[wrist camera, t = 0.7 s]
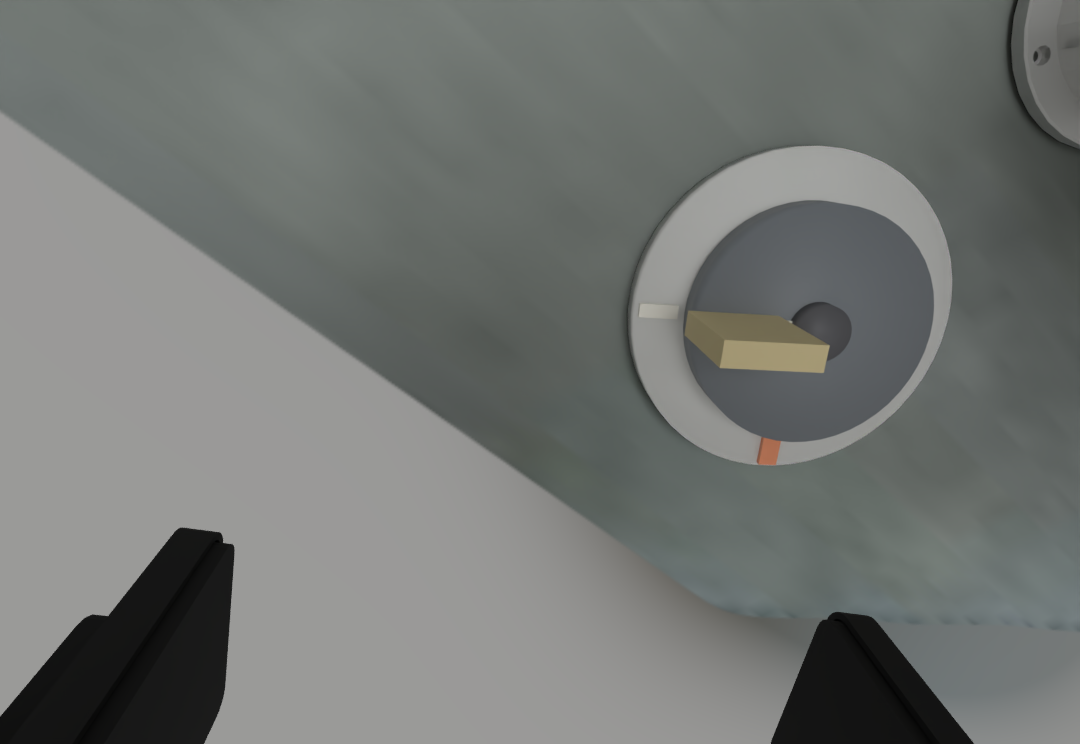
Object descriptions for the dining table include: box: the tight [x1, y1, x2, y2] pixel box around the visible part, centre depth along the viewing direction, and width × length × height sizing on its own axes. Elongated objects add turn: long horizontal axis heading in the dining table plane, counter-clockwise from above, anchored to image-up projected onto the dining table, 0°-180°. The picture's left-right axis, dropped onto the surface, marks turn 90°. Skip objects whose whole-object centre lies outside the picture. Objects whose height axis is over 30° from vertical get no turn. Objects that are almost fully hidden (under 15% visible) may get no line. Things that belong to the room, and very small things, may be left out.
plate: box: [628, 146, 952, 466], centre depth 36 cm, size 17×17×2 cm
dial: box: [683, 200, 934, 442], centre depth 31 cm, size 12×12×7 cm
